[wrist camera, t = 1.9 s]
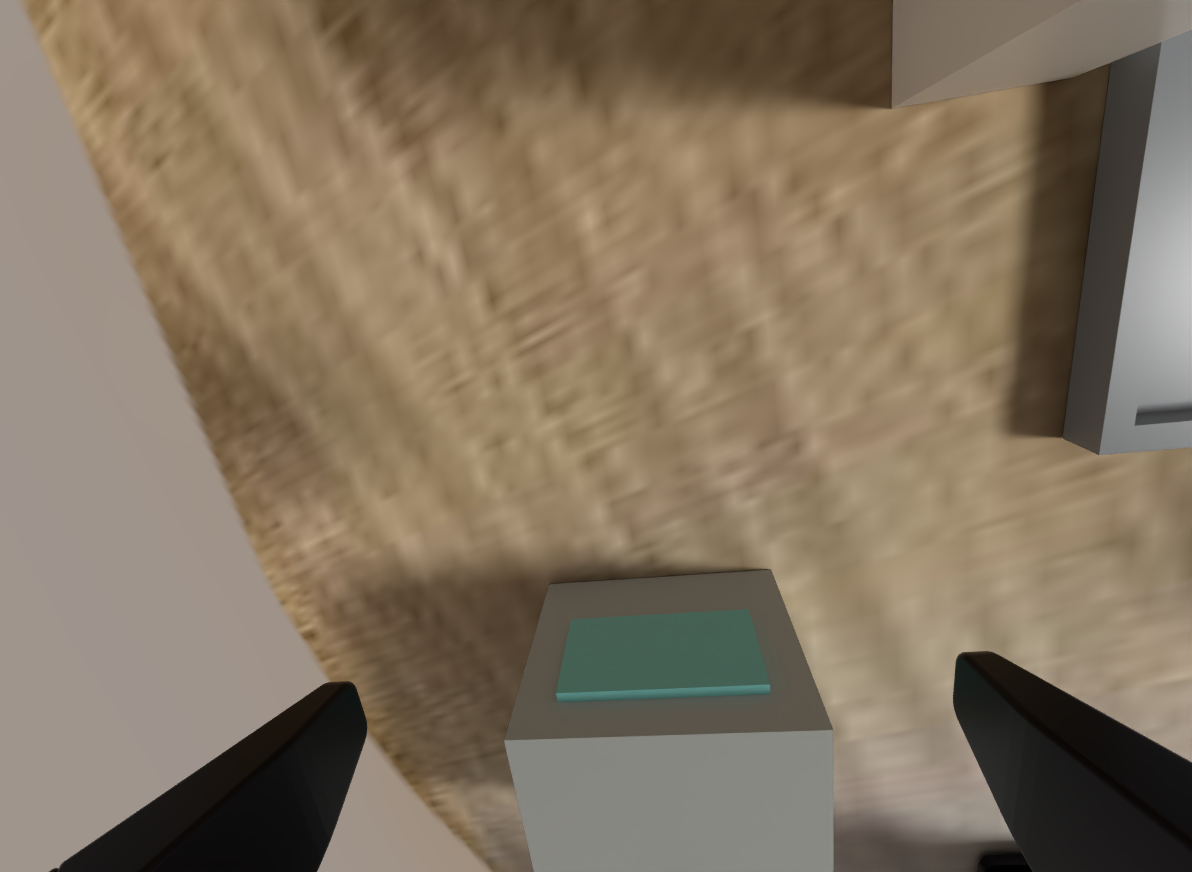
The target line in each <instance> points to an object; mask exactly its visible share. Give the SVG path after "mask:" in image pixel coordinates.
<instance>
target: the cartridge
mask: <svg viewBox="0 0 1192 872" xmlns="http://www.w3.org/2000/svg"><path fill="white" fill-rule="evenodd" d="M1190 30H1192V0H893V40H892V109H893V108H899V107H905V106H910V105H916V104H922V103H928V102H934V101H940V100H945V99H951V98H957V97H963V96H969V95H974V94H980V93H986V92H992V91H998V90H1004V89H1009V88H1015V87H1021V86H1027V85H1033V84H1039V83H1044V82H1050V81H1056V80H1062V79H1068V78H1073V77H1076V76H1078V75H1081V74H1083V73H1086V72H1088V71H1091V70H1093V69H1096V68H1098V67H1101V66H1103V65H1106V64H1108V63H1111V62H1113V61H1116V60H1118V59H1121V58H1123V57H1126V56H1128V55H1131V54H1133V53H1136V52H1138V51H1141V50H1143V49H1145V48H1148V47H1150V46H1153V45H1155V44H1158V43H1160V42H1163V41H1165V40H1168V39H1170V38H1173V37H1175V36H1178V35H1180V34H1183V33H1185V32H1188V31H1190Z"/></svg>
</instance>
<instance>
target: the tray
mask: <svg viewBox="0 0 1192 872" xmlns="http://www.w3.org/2000/svg"><path fill="white" fill-rule="evenodd" d="M1063 439H1065V440H1067V441H1069V442H1072V443H1074V444H1076V445H1078V446H1080V447H1083V448H1085V449H1087V450H1089V451H1091V452H1094V453H1096V454H1098V455H1106V454H1118V453H1130V452H1141V451H1153V450H1165V449H1177V448H1189V447H1192V30H1190V31H1188V32H1185V33H1183V34H1180V35H1178V36H1175V37H1173V38H1170V39H1168V40H1165V41H1163V42H1160V43H1158V44H1155V45H1153V46H1150V47H1148V48H1145V49H1143V50H1141V51H1138V52H1136V53H1133V54H1131V55H1128V56H1126V57H1123V58H1121V59H1118V60H1116V61H1113V62H1111V68H1110V75H1109V83H1108V91H1107V99H1106V106H1105V114H1104V122H1103V130H1102V137H1101V145H1100V153H1099V161H1098V168H1097V176H1096V184H1095V191H1094V199H1093V207H1092V215H1091V222H1090V230H1089V238H1088V246H1087V253H1086V261H1085V269H1084V276H1083V284H1082V292H1081V300H1080V307H1079V315H1078V323H1077V331H1076V338H1075V346H1074V354H1073V361H1072V369H1071V377H1070V385H1069V392H1068V400H1067V408H1066V416H1065V423H1064V431H1063Z"/></svg>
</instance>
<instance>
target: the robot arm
mask: <svg viewBox="0 0 1192 872" xmlns="http://www.w3.org/2000/svg"><path fill="white" fill-rule="evenodd" d="M953 705H954V710H955V713H956V716H957V719H958V721H959V723H960V725H961V728H962V730H963V732H964V734H965V736H966V738H967V740H968V743H969V745H970V747H971V749H972V751H973V753H974V756H975V758H976V760H977V762H978V764H979V766H980V768H981V771H982V773H983V775H984V777H985V779H986V781H987V784H988V786H989V788H990V790H991V792H992V794H993V796H994V799H995V801H996V803H997V805H998V807H999V809H1000V812H1001V814H1002V816H1003V818H1004V820H1005V822H1006V824H1007V826H1008V828H1009V830H1010V832H1011V834H1012V836H1013V838H1014V840H1015V841H1016V843H1017V845H1018V847H1019V849H1020V850H1021V852H1022V854H1011V855H987V856H985V857H983V858H981V859H980V861H979V863H978V871H977V872H1192V762H1190V761H1188V760H1187V759H1185V758H1183V757H1181V756H1179V755H1178V754H1176V753H1174V752H1172V751H1170V750H1169V749H1167V748H1165V747H1163V746H1161V745H1160V744H1158V743H1156V742H1154V741H1152V740H1151V739H1149V738H1147V737H1145V736H1143V735H1142V734H1140V733H1138V732H1136V731H1134V730H1133V729H1131V728H1129V727H1127V726H1125V725H1124V724H1122V723H1120V722H1118V721H1116V720H1115V719H1113V718H1111V717H1109V716H1107V715H1106V714H1104V713H1102V712H1100V711H1098V710H1097V709H1095V708H1093V707H1091V706H1089V705H1088V704H1086V703H1084V702H1082V701H1080V700H1079V699H1077V698H1075V697H1073V696H1071V695H1070V694H1068V693H1066V692H1064V691H1062V690H1061V689H1059V688H1057V687H1055V686H1053V685H1052V684H1050V683H1048V682H1046V681H1044V680H1043V679H1041V678H1039V677H1037V676H1035V675H1034V674H1032V673H1030V672H1028V671H1026V670H1025V669H1023V668H1021V667H1019V666H1017V665H1016V664H1014V663H1012V662H1010V661H1008V660H1007V659H1005V658H1003V657H1001V656H999V655H998V654H995V653H993V652H990V651H979V652H963V653H961V654H959V655H958V657H957V659H956V666H955V679H954V692H953ZM366 735H367V720H366V717H365V714H364V711H363V708H362V704H361V701H360V698H359V695H358V692H357V689H356V687H355V685H354V684H353V683H352V682H349V681H343V682H328V683H325V684H323V685H322V686H320V687H319V688H317V689H316V690H314V691H313V692H311V693H310V694H309V695H307V696H305V697H304V698H303V699H301V700H300V701H298V702H297V703H295V704H294V705H292V706H291V707H289V708H288V709H286V710H285V711H284V712H282V713H281V714H279V715H278V716H276V717H275V718H273V719H272V720H270V721H269V722H268V723H266V724H264V725H263V726H262V727H260V728H259V729H257V730H256V731H254V732H253V733H251V734H250V735H248V736H247V737H245V738H244V739H243V740H241V741H240V742H238V743H237V744H235V745H234V746H232V747H231V748H229V749H228V750H226V751H225V752H224V753H222V754H221V755H219V756H218V757H216V758H215V759H213V760H212V761H210V762H209V763H207V764H206V765H205V766H203V767H202V768H200V769H199V770H197V771H196V772H194V773H193V774H191V775H190V776H188V777H187V778H186V779H184V780H183V781H181V782H180V783H178V784H177V785H175V786H174V787H172V788H171V789H169V790H168V791H167V792H165V793H164V794H162V795H161V796H159V797H158V798H156V799H155V800H154V801H152V802H151V803H149V804H148V805H146V806H145V807H143V808H142V809H140V810H139V811H137V812H136V813H134V814H133V815H131V816H130V817H129V818H127V819H126V820H124V821H123V822H121V823H120V824H118V825H117V826H115V827H114V828H112V829H111V830H110V831H108V832H107V833H105V834H104V835H102V836H101V837H100V838H98V839H97V840H95V841H94V842H92V843H91V844H89V845H88V846H86V847H85V848H84V849H82V850H80V851H79V852H77V853H76V854H74V855H73V856H71V857H70V858H69V859H67V860H66V861H64V862H63V863H62V864H61V865H60V867H59V868H54V869H52V870H51V871H50V872H317V871H318V868H319V866H320V864H321V862H322V859H323V857H324V854H325V852H326V850H327V847H328V845H329V842H330V840H331V837H332V835H333V832H334V829H335V827H336V824H337V821H338V818H339V815H340V812H341V809H342V807H343V804H344V801H345V798H346V795H347V792H348V789H349V786H350V783H351V780H352V777H353V774H354V772H355V768H356V765H357V763H358V760H359V757H360V754H361V751H362V748H363V745H364V742H365V739H366Z"/></svg>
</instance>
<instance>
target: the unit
mask: <svg viewBox="0 0 1192 872" xmlns="http://www.w3.org/2000/svg"><path fill="white" fill-rule="evenodd" d="M504 743H505V747H506V752H507V756H508V761H509V765H510V769H511V774H512V778H513V783H514V787H515V791H516V796H517V800H518V805H519V809H520V813H521V818H522V822H523V826H524V831H525V835H526V840H527V844H528V848H529V853H530V857H531V862H532V866H533V870H534V872H834V828H833V728H832V725H831V723H830V720H829V718H828V715H827V712H826V710H825V707H824V705H823V702H822V699H821V697H820V694H819V692H818V689H817V687H816V684H815V681H814V679H813V676H812V674H811V671H810V669H809V666H808V663H807V661H806V658H805V656H804V653H803V651H802V648H801V645H800V643H799V640H798V638H797V635H796V633H795V630H794V627H793V625H792V622H791V620H790V617H789V615H788V612H787V609H786V607H785V604H784V602H783V599H782V596H781V594H780V591H779V589H778V586H777V584H776V581H775V578H774V576H773V573H772V571H771V570H759V571H743V572H728V573H713V574H698V575H682V576H667V577H652V578H637V579H621V580H606V581H591V582H575V583H560V584H549V587H548V590H547V594H546V597H545V601H544V604H543V608H542V611H541V614H540V618H539V621H538V625H537V628H536V632H535V635H534V639H533V642H532V645H531V649H530V652H529V656H528V659H527V663H526V666H525V670H524V673H523V676H522V680H521V683H520V687H519V690H518V694H517V697H516V701H515V704H514V707H513V711H512V714H511V718H510V721H509V725H508V728H507V732H506V735H505V738H504Z"/></svg>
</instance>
